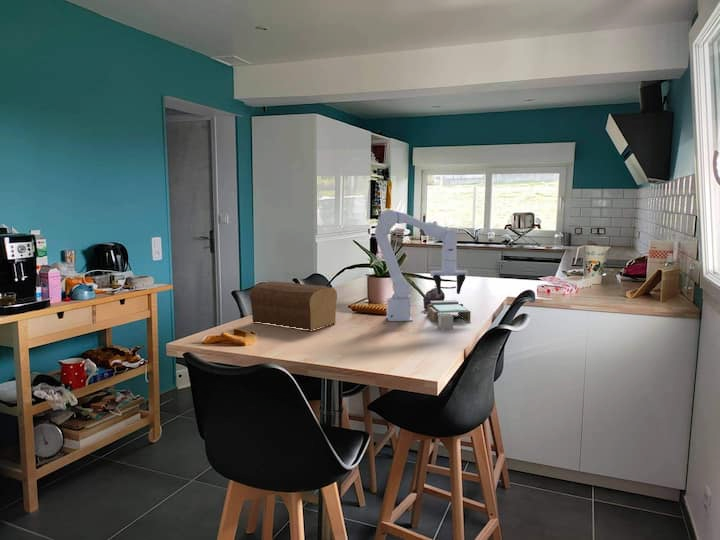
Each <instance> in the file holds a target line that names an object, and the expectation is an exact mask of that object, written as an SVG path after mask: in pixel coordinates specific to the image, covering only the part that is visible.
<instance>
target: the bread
mask: <svg viewBox="0 0 720 540" xmlns="http://www.w3.org/2000/svg"><path fill="white" fill-rule="evenodd" d="M249 300H250V306H251V315H252V323H253V322H261V323H270V324H276V325H283V326H289V327H296V328H303V329H309V330H313V329H317V328H320V327H323V326H327V325H330V324H333V323H335V324H336V323H337V321H336V313H337V312H336V311H337V300H338V292H337V290H336V289H335V288H334V287H329V286H326V285H316V284H315V285H314V284H304V283H295V282H288V281H287V282H286V281H285V282H284V281H266V282H262V283H258V284H257V285H254V286H253V287H252V288H251V289H250V291H249ZM333 325H334V324H333ZM330 326H331V325H330ZM327 327H328V326H327Z"/></svg>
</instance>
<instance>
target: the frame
mask: <svg viewBox="0 0 720 540" xmlns="http://www.w3.org/2000/svg"><path fill="white" fill-rule="evenodd" d="M458 304H459V305H461V306H462V307H464V308H465V309H466V310H467V312H457V315H458V314H459V315H458V316H460V317H461V318H462V317H463V318H464V319H463V318H462V319H463V320H465V321H466V322H467V321H470V322H471V317H472V316H471V313H472V312H471V310H469V309H468V308H466V307H465V306H464V304H463V303H458ZM452 305H453V304H452ZM432 306H433V305H428V306H427V310H426V314H427V317H428V318H429V319H430V320H431V321H432V322H433V323H435V322H436V323H438V314H439V312H438V311H437V310H436V309H433V308H432Z"/></svg>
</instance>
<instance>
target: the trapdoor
mask: <svg viewBox="0 0 720 540" xmlns="http://www.w3.org/2000/svg"><path fill="white" fill-rule="evenodd" d="M452 304H453V305H452ZM459 304H460V303H459V301H457V300H456V299H454V300H453V299H452V300H449V299H448V300H444V301H430V305H433V306H432V308H434V309H435V310H436V311H437V312H438V314H451V313H458V312H467V310H466V309H467V308H466V307H465V306H463V307H462V306H461V305H459ZM464 307H465V308H466V309H465V308H464Z"/></svg>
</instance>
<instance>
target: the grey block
mask: <svg viewBox="0 0 720 540" xmlns="http://www.w3.org/2000/svg"><path fill="white" fill-rule="evenodd" d="M437 324H438V325H437V327H438V328H439V329H440V330H441V329H447V330H454V315H453V314H451V313H438V322H437Z"/></svg>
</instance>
